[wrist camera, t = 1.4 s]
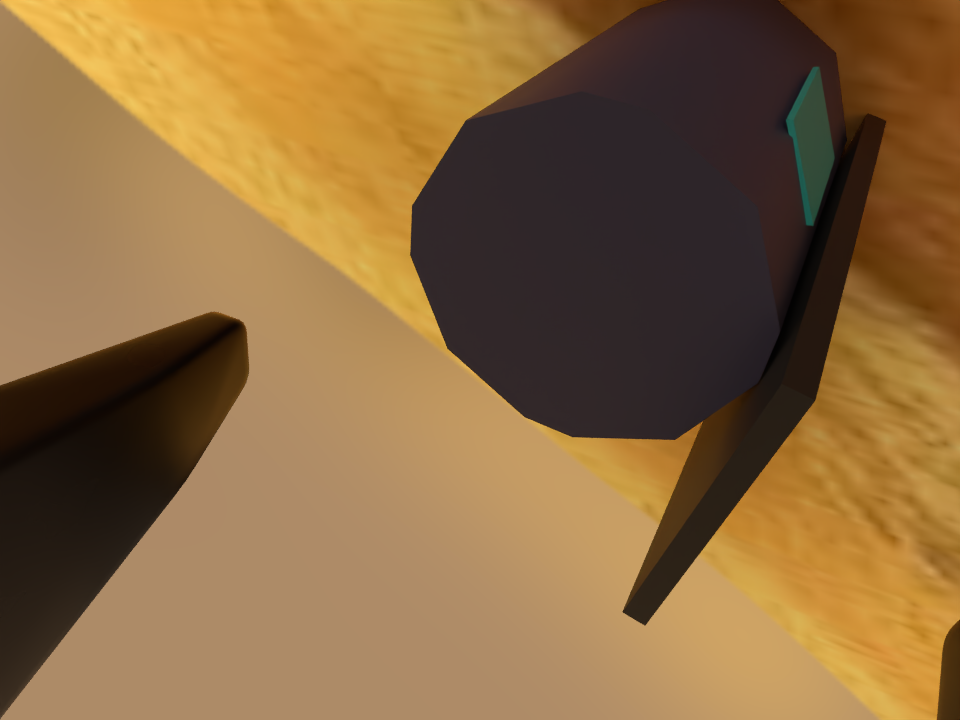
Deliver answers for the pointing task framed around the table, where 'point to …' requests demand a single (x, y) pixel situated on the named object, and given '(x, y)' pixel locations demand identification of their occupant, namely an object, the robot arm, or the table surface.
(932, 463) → the table surface
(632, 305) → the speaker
